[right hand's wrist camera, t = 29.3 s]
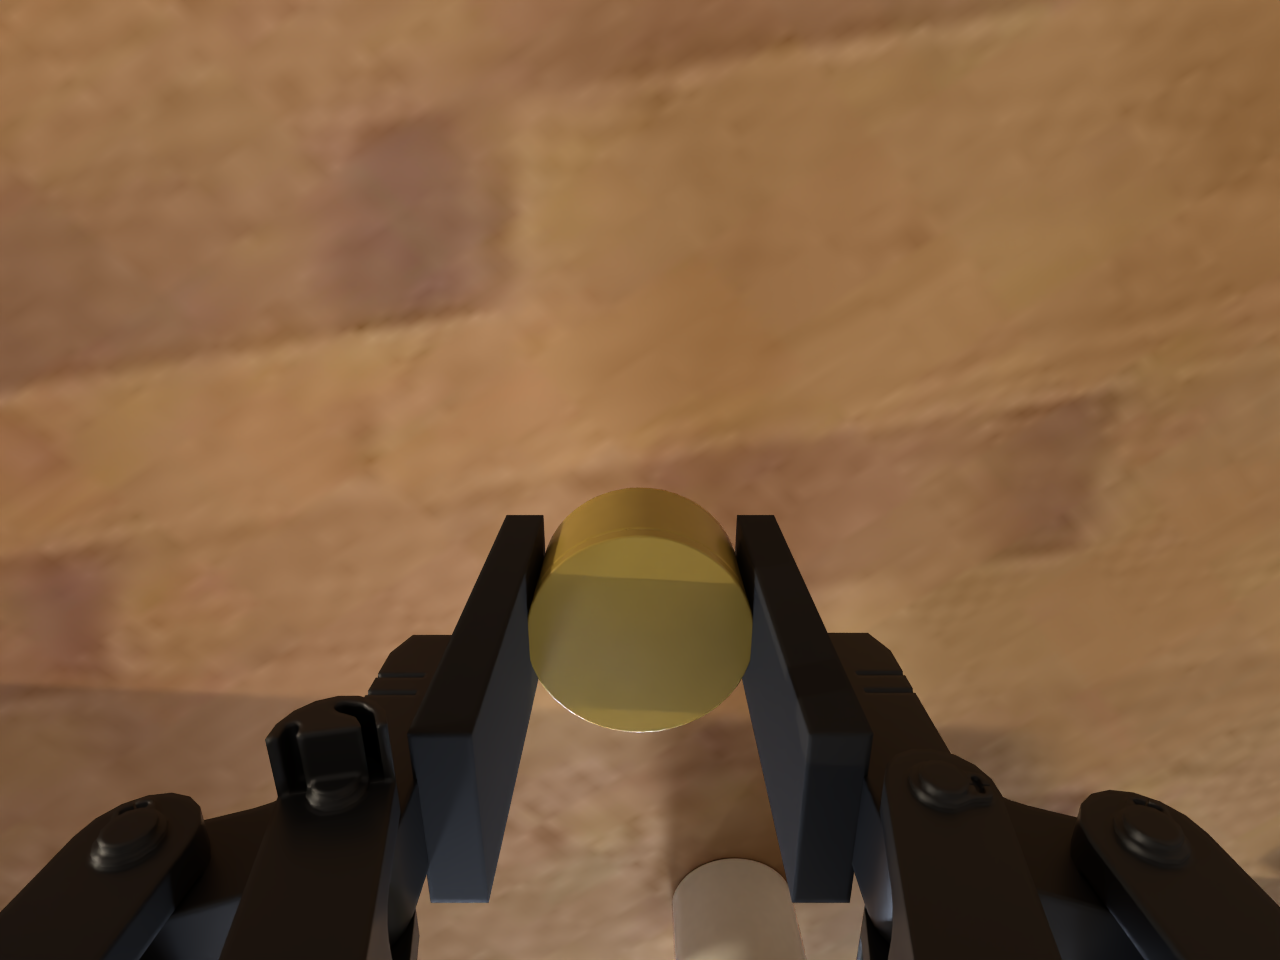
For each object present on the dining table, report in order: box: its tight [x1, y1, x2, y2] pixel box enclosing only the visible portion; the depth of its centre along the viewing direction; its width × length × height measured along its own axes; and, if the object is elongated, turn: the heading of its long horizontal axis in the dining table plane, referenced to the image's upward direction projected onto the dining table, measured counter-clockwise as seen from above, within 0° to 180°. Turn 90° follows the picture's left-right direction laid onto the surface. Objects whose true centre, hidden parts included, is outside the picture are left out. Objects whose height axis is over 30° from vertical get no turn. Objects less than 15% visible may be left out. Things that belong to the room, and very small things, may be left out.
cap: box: [528, 488, 753, 732], centre depth 14 cm, size 4×4×2 cm
